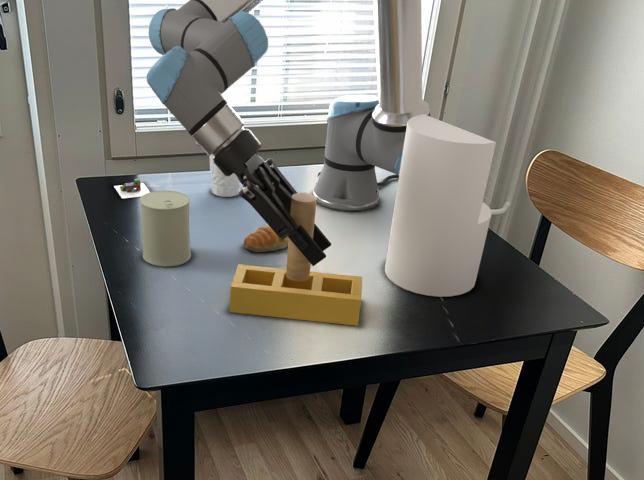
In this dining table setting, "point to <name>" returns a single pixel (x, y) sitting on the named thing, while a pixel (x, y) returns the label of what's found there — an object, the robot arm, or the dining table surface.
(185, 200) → the can
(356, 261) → the dining table surface
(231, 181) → the white cup
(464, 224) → the cylinder
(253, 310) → the yellow peg holder
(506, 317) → the dining table surface
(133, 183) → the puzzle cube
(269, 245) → the pastry
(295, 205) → the peg
